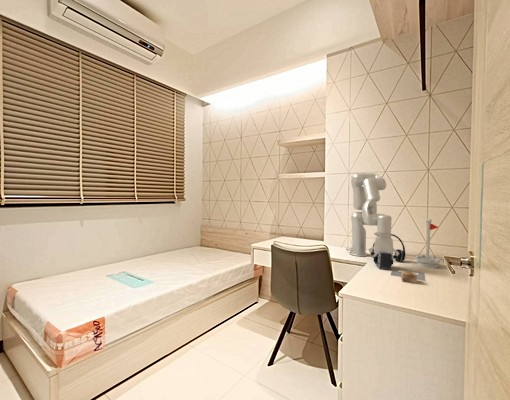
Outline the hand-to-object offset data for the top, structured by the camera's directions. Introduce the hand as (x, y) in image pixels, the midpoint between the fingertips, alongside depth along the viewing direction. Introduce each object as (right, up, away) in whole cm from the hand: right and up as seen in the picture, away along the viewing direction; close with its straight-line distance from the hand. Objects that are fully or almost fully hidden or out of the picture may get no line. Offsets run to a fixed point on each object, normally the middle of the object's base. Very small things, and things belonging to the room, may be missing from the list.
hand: (383, 264), depth 152 cm
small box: (0, -3, 0) cm, 3 cm away
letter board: (+8, -3, -12) cm, 14 cm away
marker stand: (+32, -3, +8) cm, 33 cm away
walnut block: (+1, -3, -23) cm, 23 cm away
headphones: (+13, -3, +18) cm, 22 cm away
